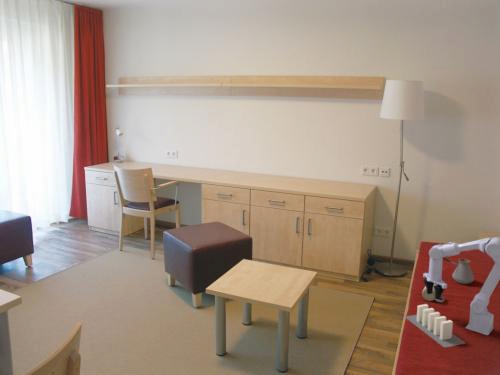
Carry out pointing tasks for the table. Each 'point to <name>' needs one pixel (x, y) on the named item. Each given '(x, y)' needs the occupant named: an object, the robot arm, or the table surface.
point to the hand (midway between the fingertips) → (433, 296)
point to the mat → (444, 343)
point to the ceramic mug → (431, 295)
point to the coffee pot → (462, 271)
